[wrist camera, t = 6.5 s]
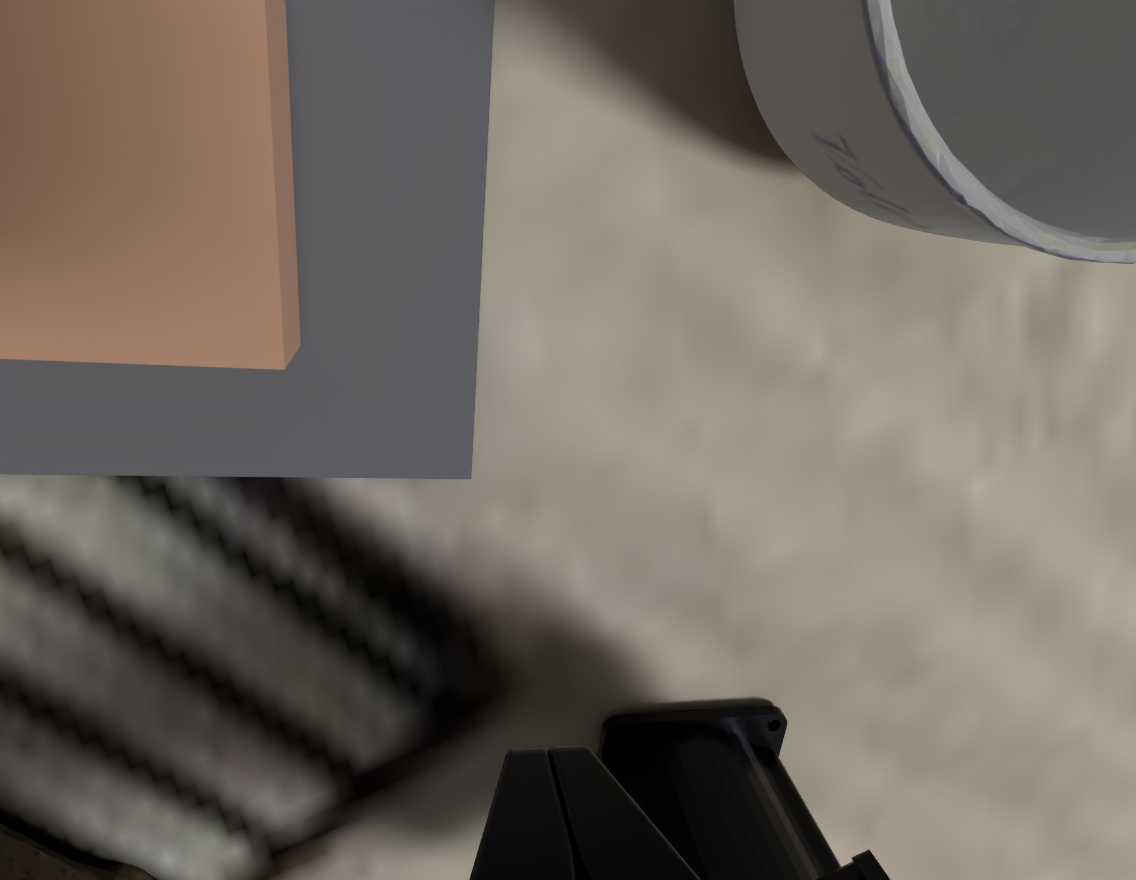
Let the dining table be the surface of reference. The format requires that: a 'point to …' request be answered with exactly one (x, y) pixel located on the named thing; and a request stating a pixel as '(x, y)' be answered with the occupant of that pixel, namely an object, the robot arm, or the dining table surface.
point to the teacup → (959, 113)
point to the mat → (323, 282)
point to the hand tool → (52, 863)
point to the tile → (147, 183)
